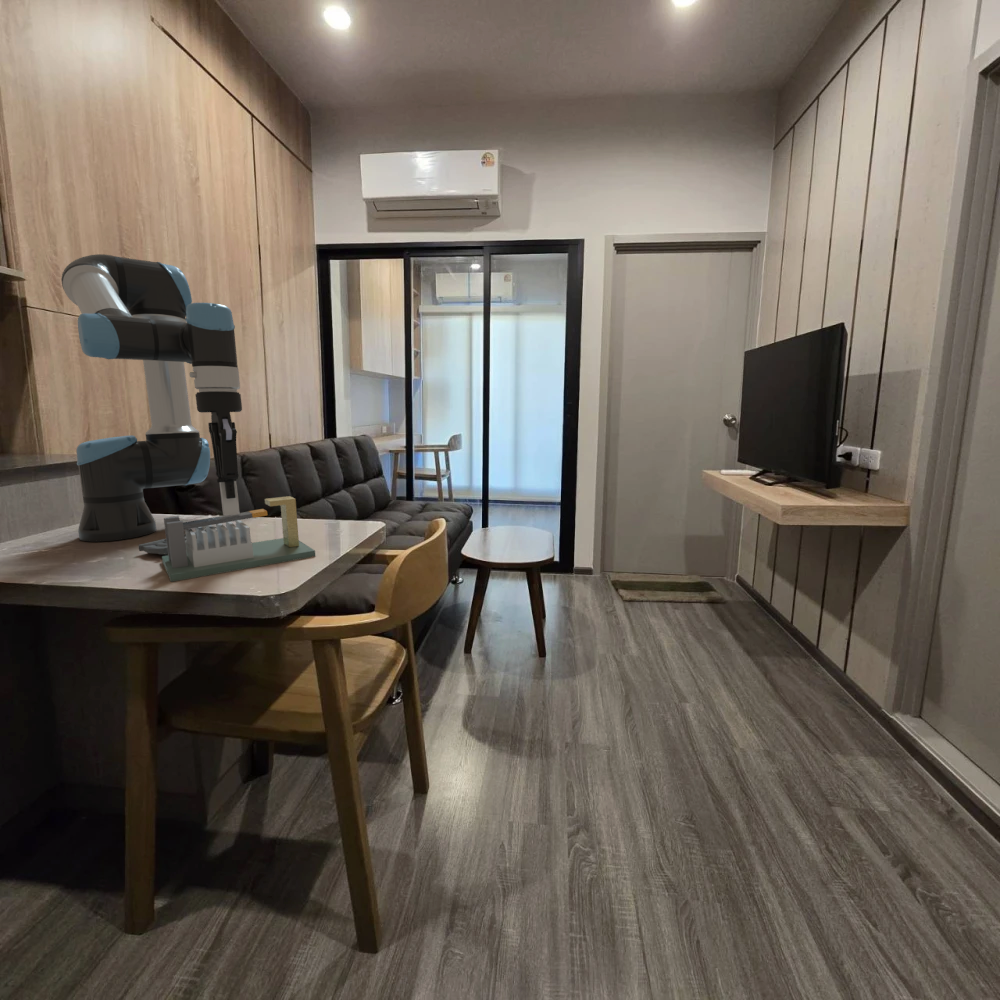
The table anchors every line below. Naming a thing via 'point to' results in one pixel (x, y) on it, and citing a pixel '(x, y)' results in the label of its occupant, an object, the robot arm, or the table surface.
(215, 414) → the robot arm
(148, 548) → the graphics card
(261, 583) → the table surface
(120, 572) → the table surface
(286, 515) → the block
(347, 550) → the table surface
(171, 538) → the board
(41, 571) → the table surface
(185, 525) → the strap
